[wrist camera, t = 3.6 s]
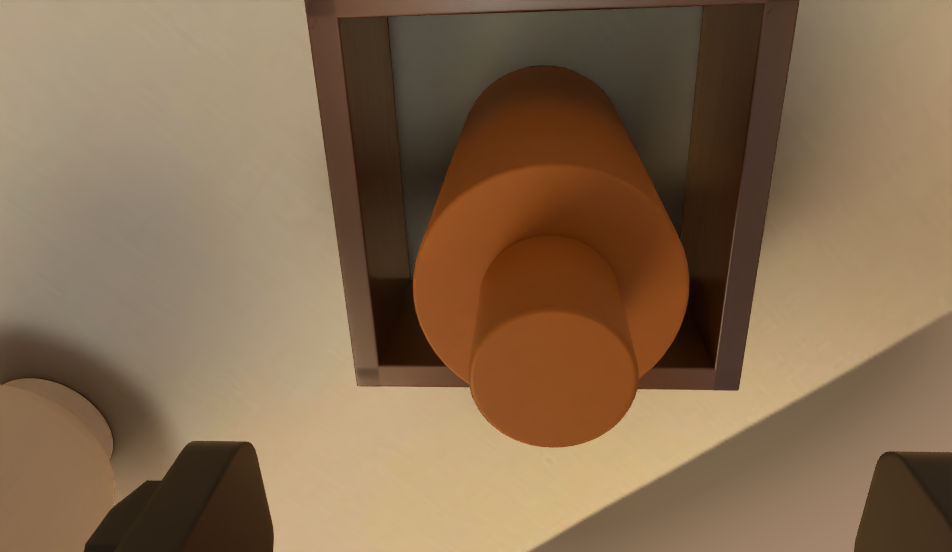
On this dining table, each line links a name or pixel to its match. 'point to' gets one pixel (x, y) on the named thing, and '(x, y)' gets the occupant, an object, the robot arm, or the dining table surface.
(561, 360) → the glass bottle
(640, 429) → the dining table surface
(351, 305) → the crate
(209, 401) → the dining table surface
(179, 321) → the dining table surface
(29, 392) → the teacup
